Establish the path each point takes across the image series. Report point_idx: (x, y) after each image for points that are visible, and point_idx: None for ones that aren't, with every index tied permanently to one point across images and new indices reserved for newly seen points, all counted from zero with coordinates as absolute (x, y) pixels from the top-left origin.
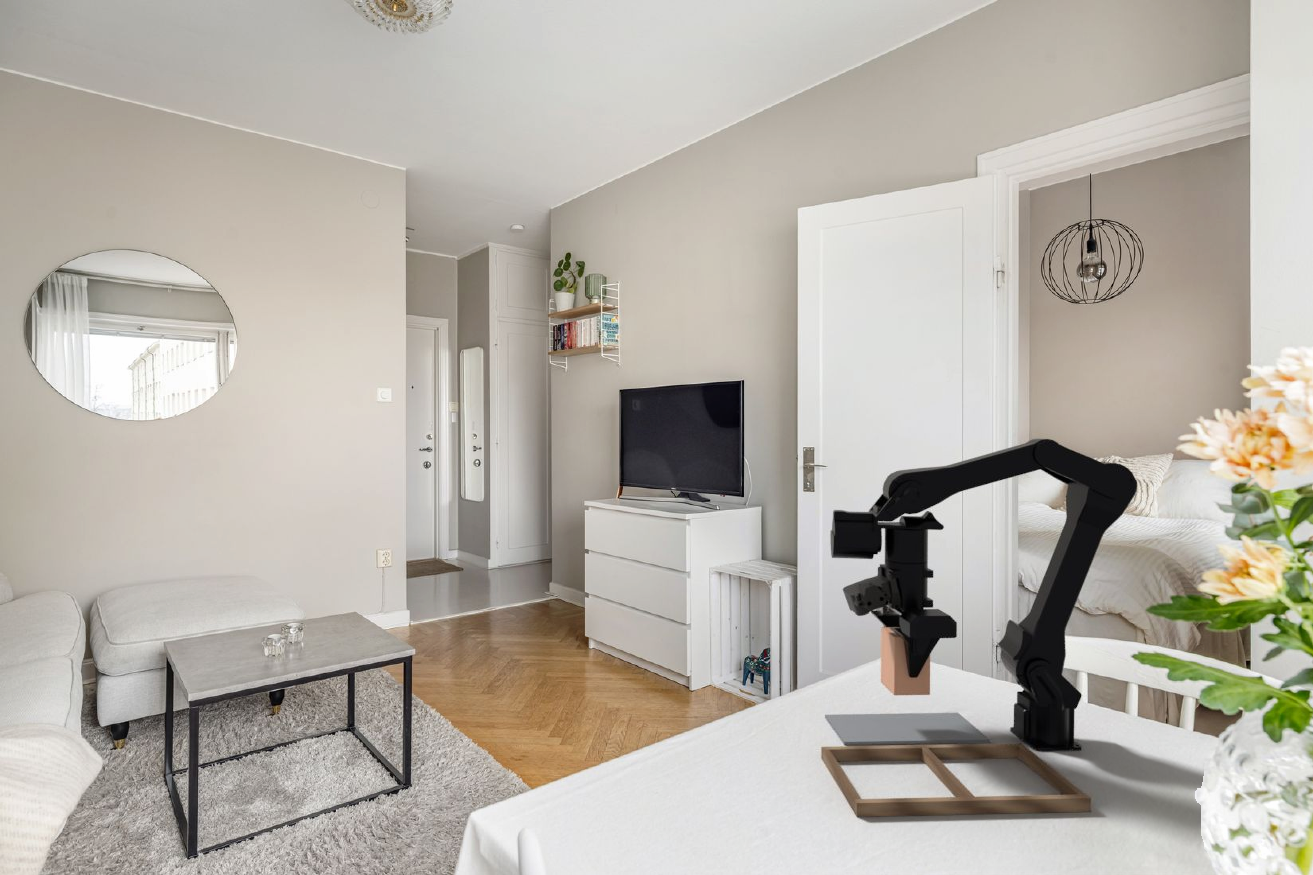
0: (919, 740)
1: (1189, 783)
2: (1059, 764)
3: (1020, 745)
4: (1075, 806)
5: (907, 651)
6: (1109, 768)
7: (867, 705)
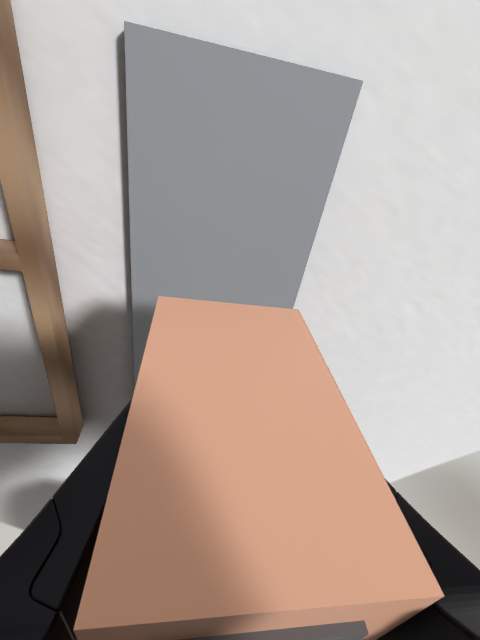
0: (132, 288)
1: (19, 528)
2: (57, 452)
3: (65, 439)
4: None
5: (42, 530)
6: (52, 490)
7: (378, 273)
